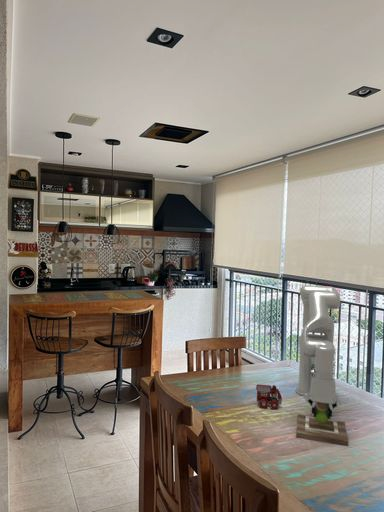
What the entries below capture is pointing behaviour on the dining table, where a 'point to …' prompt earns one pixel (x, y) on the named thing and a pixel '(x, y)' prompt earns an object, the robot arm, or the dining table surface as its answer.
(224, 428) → the dining table surface
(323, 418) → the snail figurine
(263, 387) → the toy fire truck
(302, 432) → the board
